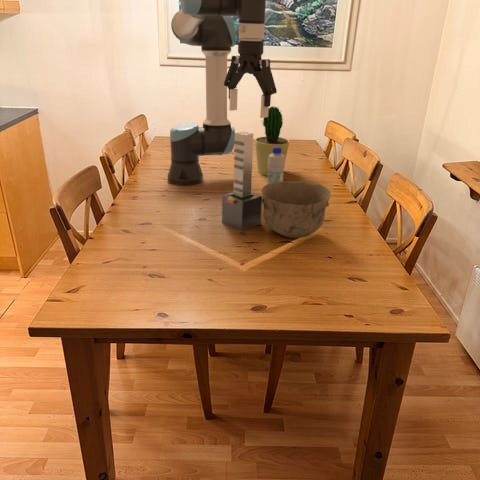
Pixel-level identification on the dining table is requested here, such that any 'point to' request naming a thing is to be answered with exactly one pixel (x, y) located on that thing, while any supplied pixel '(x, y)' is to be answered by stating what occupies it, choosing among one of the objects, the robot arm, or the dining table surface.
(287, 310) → the dining table surface
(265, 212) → the bowl
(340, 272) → the dining table surface
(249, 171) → the column
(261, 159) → the potted cactus
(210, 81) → the robot arm
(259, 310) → the dining table surface
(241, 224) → the stand base
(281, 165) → the bottle
